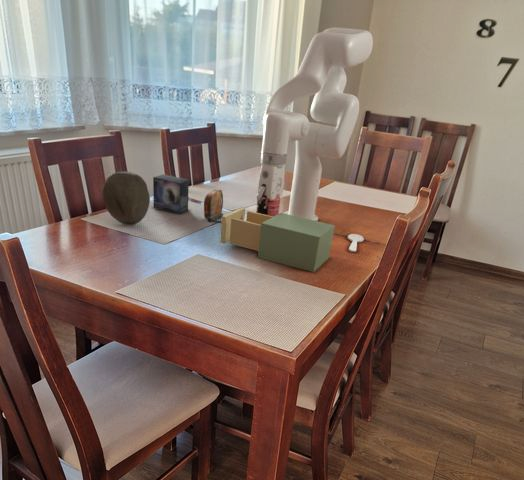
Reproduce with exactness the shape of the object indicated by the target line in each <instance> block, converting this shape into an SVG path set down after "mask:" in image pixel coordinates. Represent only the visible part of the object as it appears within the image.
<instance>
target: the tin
mask: <svg viewBox="0 0 524 480" xmlns="http://www.w3.org/2000/svg"><path fill="white" fill-rule="evenodd" d="M223 205H224V194H223V191H222V189H212V190H211V191H210V192H208V193H207V194H206V195H205V197H204V199H203V216H204V218H205V220H207V219H208V218H210V217H212V216H214V215H217V214H219V213H222V211H223V207H224V206H223Z"/></svg>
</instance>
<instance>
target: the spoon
mask: <svg viewBox="0 0 524 480" xmlns="http://www.w3.org/2000/svg"><path fill="white" fill-rule="evenodd" d="M347 240H349V241H351V244H349V245H350V246H349V248H348V251H349V252H351V253H352V252H353V253H355V252H356V253H357V248H358V247H357V246H358V243H363V242H364V240H365V238H364V237H363V236H362V235H361V234H357V233H351V234H349V235H347Z"/></svg>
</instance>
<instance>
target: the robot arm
mask: <svg viewBox="0 0 524 480" xmlns="http://www.w3.org/2000/svg"><path fill="white" fill-rule="evenodd" d="M373 47H374V38H373V35H372V33H371V32H370V31H368V30H366V29H356V28H347V27H329V28H326V29H325V30H323V31H321V32H317V33H316V34H315V35H313V37H312V39H311V41H310V42H309V45H308V47H307V50H306V52H305V54H304V56H303V58H302V61H301V63H300V66H299V68H298V70H297V72H296V75H295V76H294V77H292V78H290V79H288V80H287V81H286V82H285V83H283V84H282V85H281V86H280V87H279V88H278V89H277V90H275V92H274V93H273V95H271V97H270V100H269V103H268V104H267V106H266V109H265V112H264V115H263V117H262V130H263V135H262V144H261V153H260V164H261V167H260V172H259V177H258V183H257V195H256V207H258V210H257V213H260V214H264V215H267V213H268V209H267V206H268V202H269V199H270V200H274V199H275V198H276V195H277V194H279V196H280V197H282V196H283V194H284V186H285V175H286V174H285V172H286V170H285V169H286V167H285V166H286V164H287V163H286V162H287V154H288V147H289V141H295V158H294V159H295V160H294V169H293V173H292V174H293V175H292V183H291V189H290V196H289V197H290V198H289V205H288V210H286V211H284V212H283V213H284V214H288V215H292V216H297V217H301V218H305V219H310V220H314V221H318V222H319V216H318V215H317V214H316V209H317V203H318V198H319V197H318V196H319V195H318V194H319V190H320V183H321V178H322V172H323V166H322V163H321V159H320V157H324V158H329V159H332V160H333V159H334V160H338V159H341V158H342V157H343V156H344V154H345V153H346V150H347V148H348V145H349V143H350V139H351V137H352V134H353V131H354V129H355V126H356V124H357V121H358V117H359V113H360V101H359V99H358V97H357V96H356V95H354V94H351V93H346V92H344V91H345V88H346V86H347V81H348V79H347V74H346V71H345V68H346V69H347V68H353V67H356V66H358V65H361V64H363V63H364V62H366V61H367V60H368V59H369V57H370V56H371V53H372V51H373ZM313 95H314V96H313ZM311 96H313V99H312V103H311V106H310V113H309V114H310V116H311V118H312V119H313V120H314V121H316V122H311V121H309V118H308V117H307V116H306V115H304V114H303V113H300V112H294V111H290V110H285V109H286V107H287V106H289V105H291V104H292V103H294V102H296V101H299V100H301V99H304V98H308V97H311ZM317 122H318V123H317ZM328 124H329V125H328ZM263 195H266V196H267V198H265V197H263ZM263 200H266V202H265V203H264V201H263ZM257 203H258V205H257Z"/></svg>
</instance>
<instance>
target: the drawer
mask: <svg viewBox="0 0 524 480" xmlns="http://www.w3.org/2000/svg"><path fill="white" fill-rule="evenodd" d="M245 214H246V215H245ZM245 217H246V218H245ZM272 217H273V216H269V215H264V214H260V213H256V211H251V210H247V211H246V208H245V207H240V208H238V209H235V210H233V211H231V212H228V213H225V214H223V213H222V212H221V213H219V214H217V215H214V216H212V217H210V218H208V219H206V220H207V222H208V223H216V224H220V236H219V237H220V239H219V244H222V245H225V244H226V243H229V244H231V245H234V246H238V247H242V248H245V249H249V250H253V251H257V252H258V250H259V241H260V232H261V223H263V222H265V221H266V220H268V219H270V218H272ZM219 219H221V220H219ZM245 219H246V220H245Z"/></svg>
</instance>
